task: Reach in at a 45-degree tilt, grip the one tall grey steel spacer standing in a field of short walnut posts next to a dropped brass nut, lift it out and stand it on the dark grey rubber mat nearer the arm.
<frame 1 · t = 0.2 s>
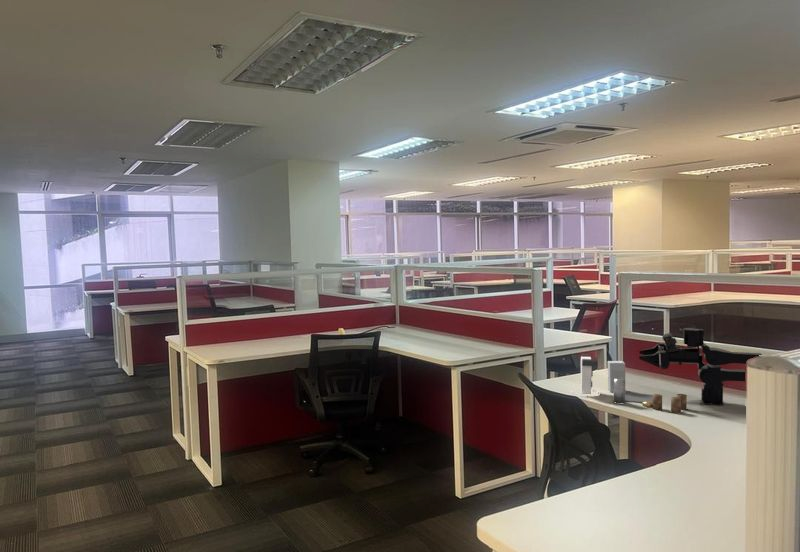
hand: (639, 354, 223), 17 cm above the table, tool horizontal, fingers open, 9 cm apart
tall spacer: (619, 402, 217), on the table
spacer b: (675, 411, 203), on the table
nut: (648, 406, 212), on the table
spacer c: (657, 408, 208), on the table
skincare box: (616, 391, 233), on the table
spacer a: (681, 408, 207), on the table
narrow upright pillar: (585, 394, 230), on the table
mat: (637, 398, 221), on the table
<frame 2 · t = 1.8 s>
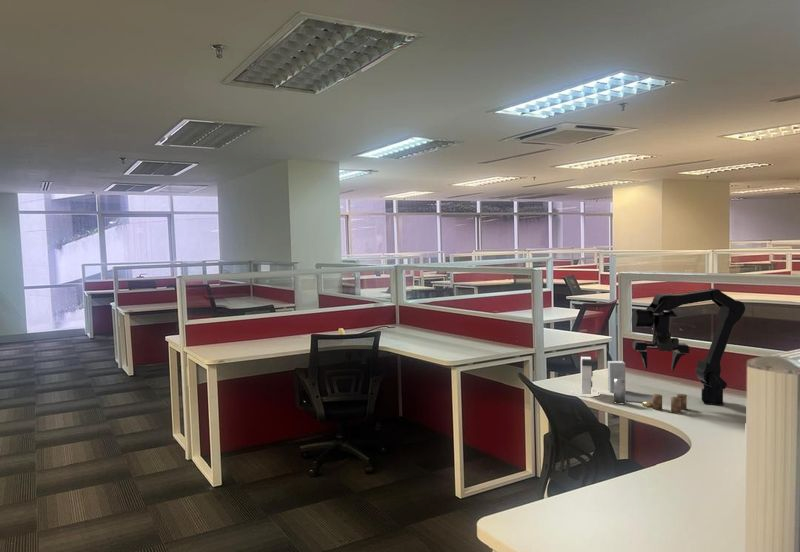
hand: (659, 369, 214), 13 cm above the table, tool pointing down, fingers open, 9 cm apart
nothing on the table moved.
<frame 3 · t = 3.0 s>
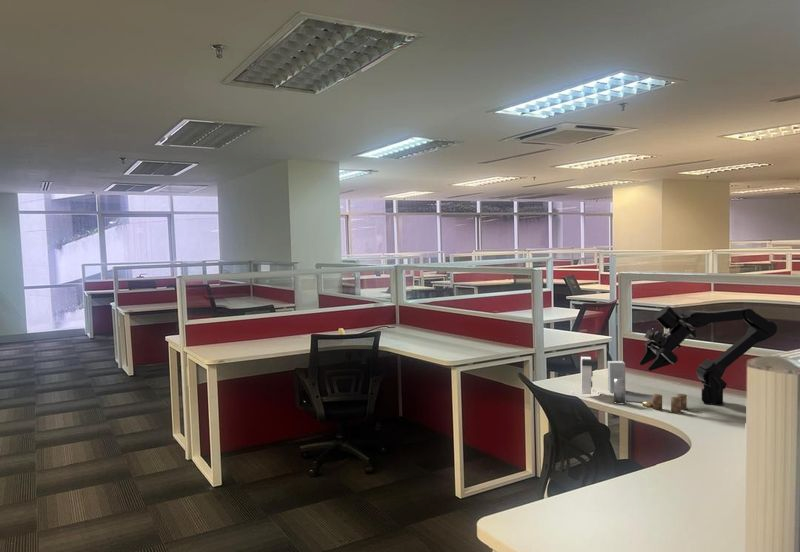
hand: (644, 367, 215), 13 cm above the table, tool tilted 45°, fingers open, 9 cm apart
nothing on the table moved.
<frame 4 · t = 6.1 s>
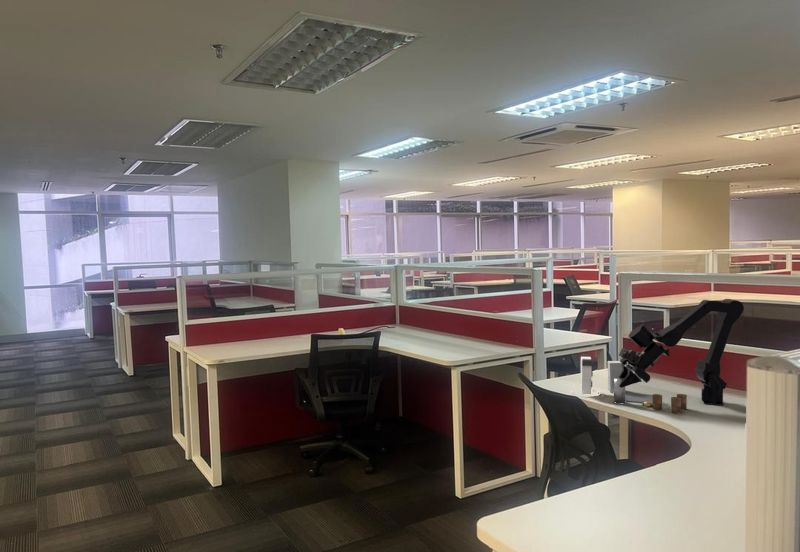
hand: (618, 385, 216), 7 cm above the table, tool tilted 45°, fingers closed on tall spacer, 4 cm apart
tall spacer: (619, 402, 217), on the table, touching gripper
everything else where it was.
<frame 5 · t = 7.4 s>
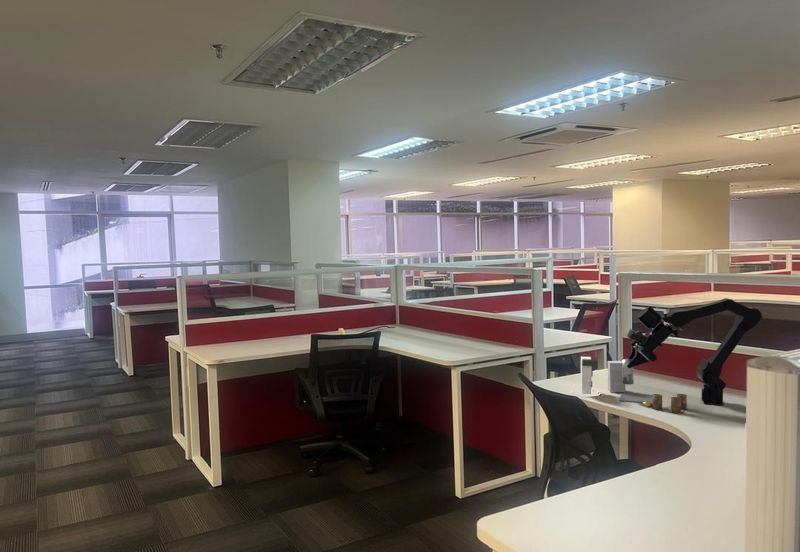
hand: (626, 366, 218), 13 cm above the table, tool tilted 45°, fingers closed on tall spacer, 4 cm apart
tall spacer: (628, 383, 219), point 7 cm above the table, touching gripper
everything else where it was.
when the fingers open (8 cm above the table, at t = 9.0 s): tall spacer drops 1 cm, resting on mat.
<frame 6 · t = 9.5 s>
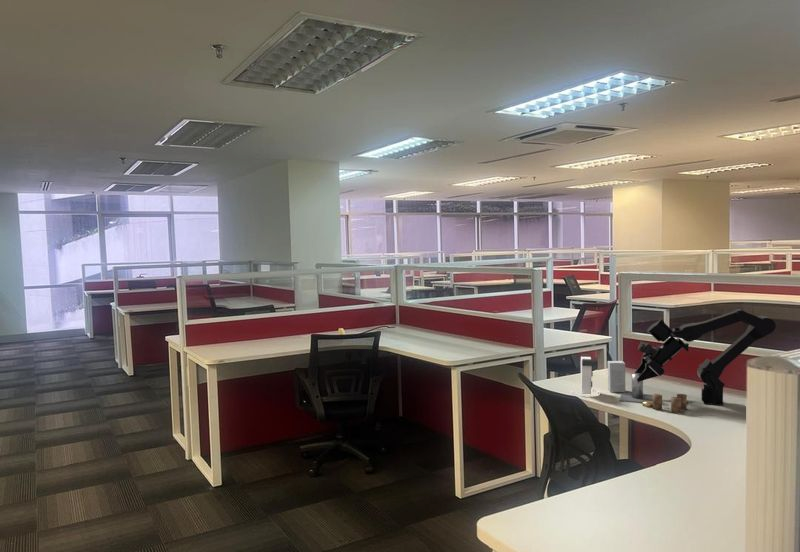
hand: (636, 377, 221), 8 cm above the table, tool tilted 45°, fingers open, 9 cm apart
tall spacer: (637, 397, 221), resting on mat
everything else where it was.
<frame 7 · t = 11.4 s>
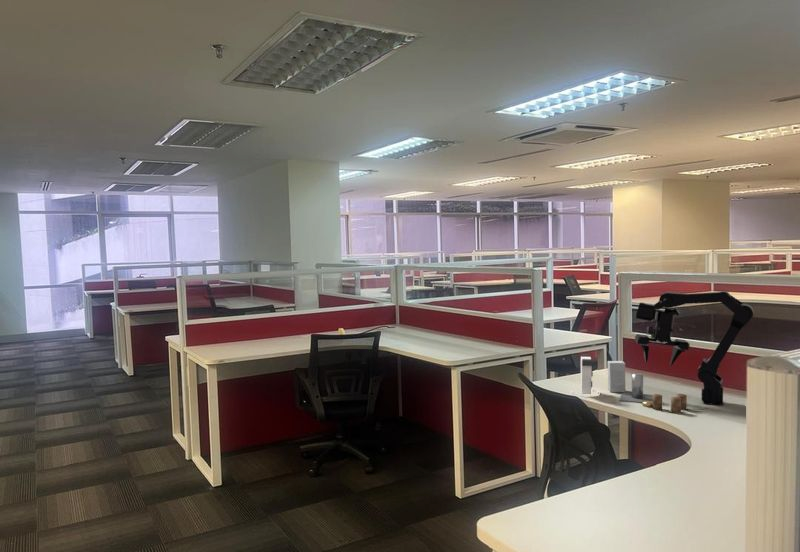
hand: (658, 363, 223), 13 cm above the table, tool pointing down, fingers open, 9 cm apart
nothing on the table moved.
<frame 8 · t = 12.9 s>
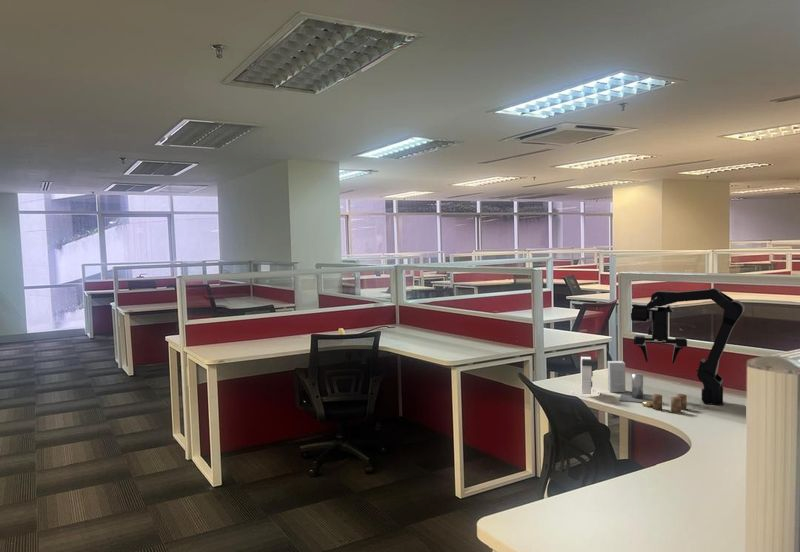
hand: (659, 362, 224), 13 cm above the table, tool pointing down, fingers open, 9 cm apart
nothing on the table moved.
at the end: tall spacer 0.1 cm from the mat (horizontally); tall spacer tilted 0°; the gripper is holding nothing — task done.
